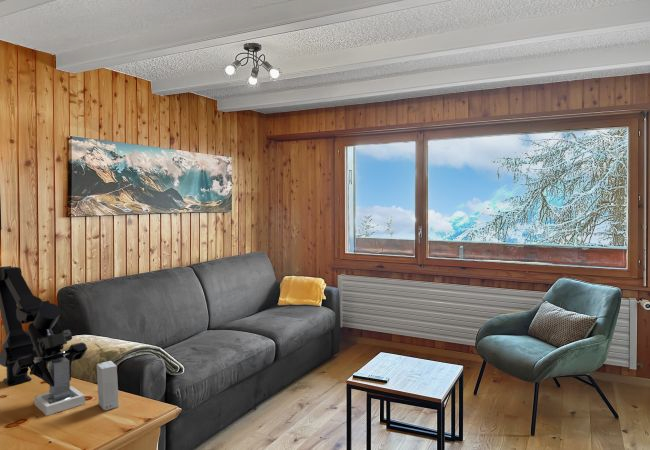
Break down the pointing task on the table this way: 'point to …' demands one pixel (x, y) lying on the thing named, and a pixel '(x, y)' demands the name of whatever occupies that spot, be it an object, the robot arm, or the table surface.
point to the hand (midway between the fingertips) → (61, 383)
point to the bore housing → (49, 409)
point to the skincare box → (107, 385)
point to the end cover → (59, 380)
